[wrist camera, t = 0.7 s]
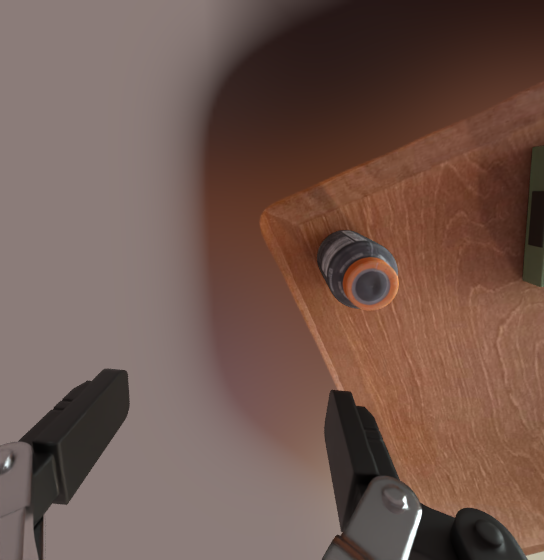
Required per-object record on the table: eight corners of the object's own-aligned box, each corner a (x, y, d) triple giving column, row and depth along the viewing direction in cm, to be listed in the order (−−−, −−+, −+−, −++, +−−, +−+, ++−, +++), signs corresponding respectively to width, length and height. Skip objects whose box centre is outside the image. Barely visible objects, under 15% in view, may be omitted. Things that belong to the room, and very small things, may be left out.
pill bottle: (375, 272, 34) (419, 311, 23) (324, 287, 34) (344, 332, 24) (362, 221, 32) (404, 238, 21) (310, 238, 33) (324, 263, 22)
